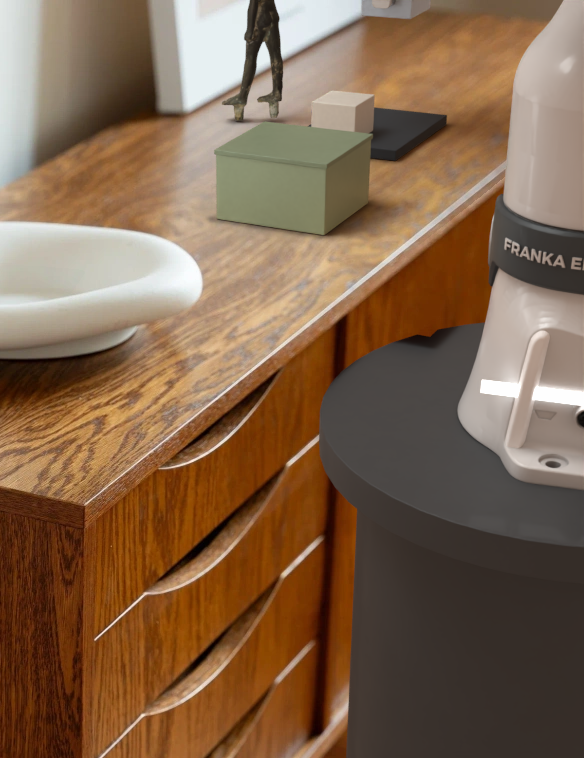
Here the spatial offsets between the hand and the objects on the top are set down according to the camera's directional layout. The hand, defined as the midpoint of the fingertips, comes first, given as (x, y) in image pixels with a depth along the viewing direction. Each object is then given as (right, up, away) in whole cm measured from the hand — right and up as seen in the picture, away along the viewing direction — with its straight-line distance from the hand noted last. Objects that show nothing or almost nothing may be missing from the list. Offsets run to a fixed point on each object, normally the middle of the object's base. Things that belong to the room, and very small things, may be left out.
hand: (396, 0), depth 142 cm
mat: (-2, -12, +4) cm, 13 cm away
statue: (-12, -9, +11) cm, 19 cm away
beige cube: (-5, -12, +1) cm, 13 cm away
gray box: (0, -1, +1) cm, 1 cm away
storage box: (-12, -23, -14) cm, 29 cm away
